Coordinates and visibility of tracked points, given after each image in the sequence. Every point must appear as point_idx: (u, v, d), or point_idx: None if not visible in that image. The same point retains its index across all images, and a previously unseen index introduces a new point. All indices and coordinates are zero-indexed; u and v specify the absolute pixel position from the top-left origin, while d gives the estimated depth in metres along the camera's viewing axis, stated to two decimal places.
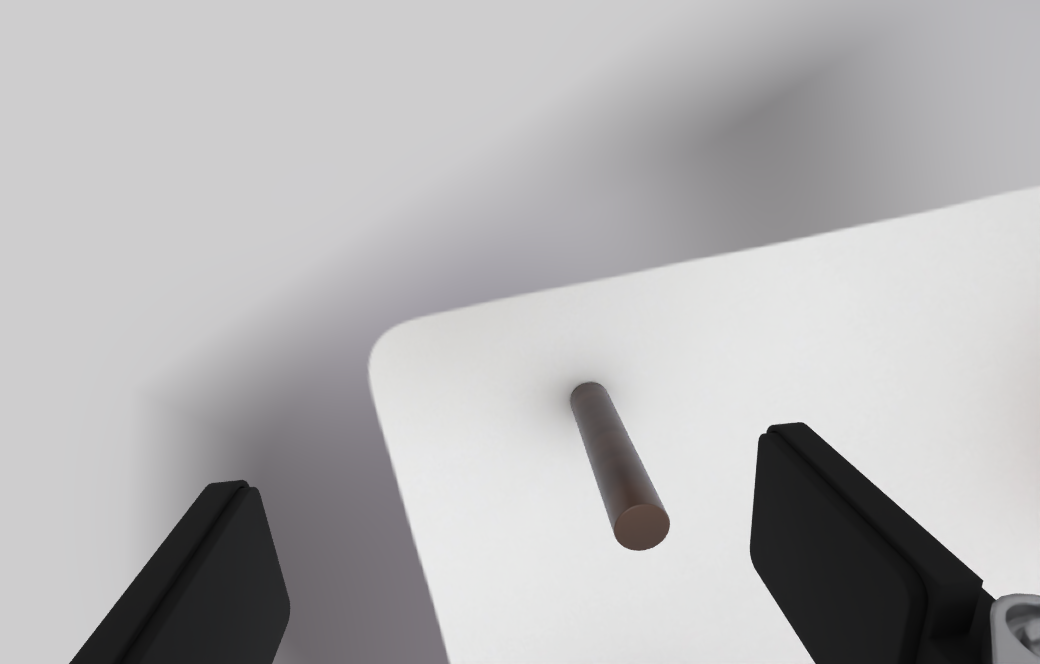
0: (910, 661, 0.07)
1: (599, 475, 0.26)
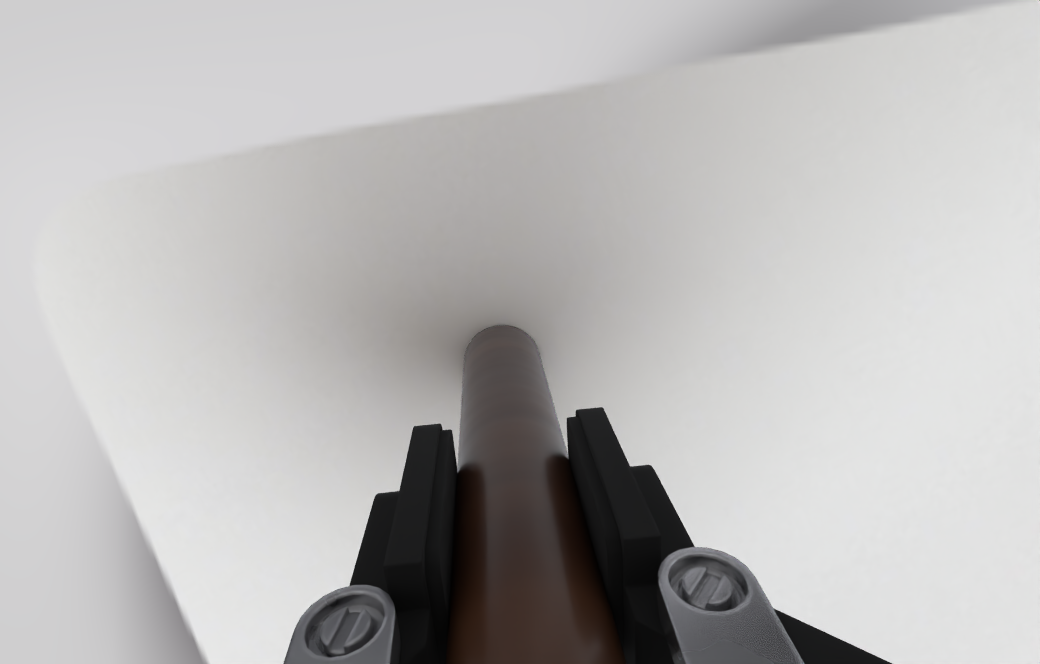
0: (618, 607, 0.08)
1: (454, 538, 0.09)
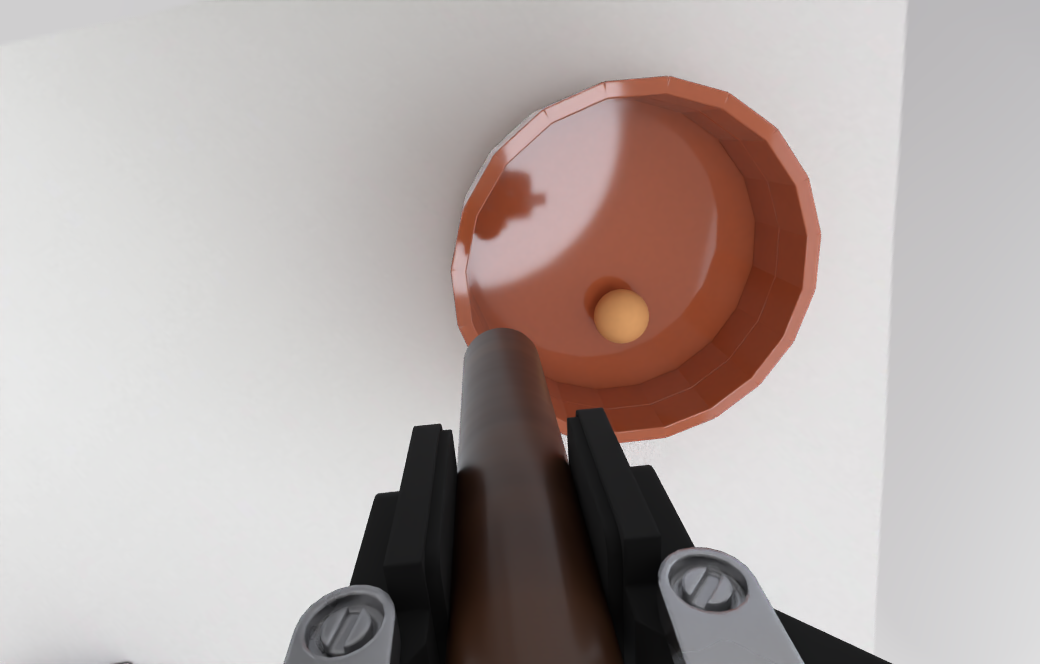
0: (618, 607, 0.08)
1: (454, 541, 0.09)
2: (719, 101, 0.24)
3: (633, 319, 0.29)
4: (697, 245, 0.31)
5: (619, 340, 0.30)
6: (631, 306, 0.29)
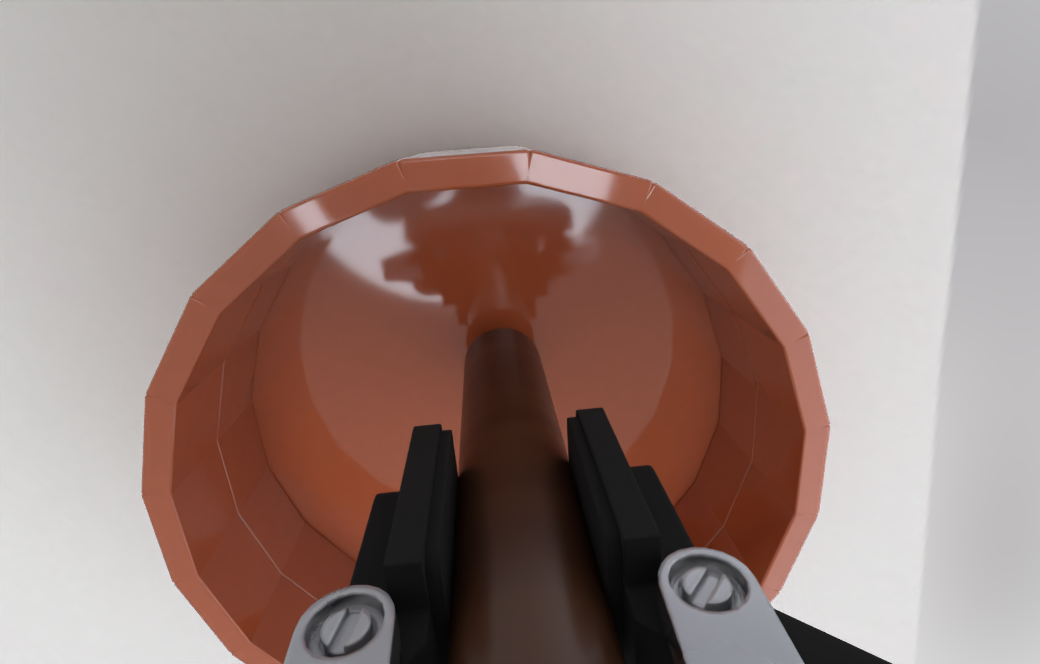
0: (618, 607, 0.08)
1: (456, 543, 0.09)
2: (634, 198, 0.12)
3: None
4: (629, 394, 0.19)
5: None
6: None
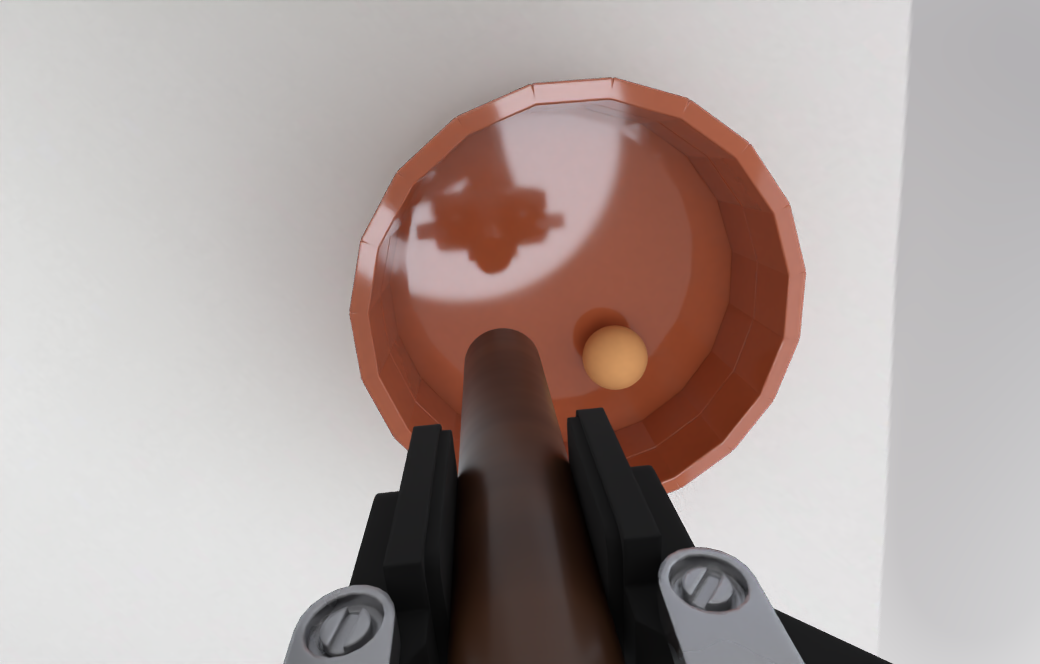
0: (618, 607, 0.08)
1: (456, 542, 0.09)
2: (677, 109, 0.19)
3: (638, 379, 0.25)
4: (663, 279, 0.26)
5: (607, 386, 0.25)
6: None
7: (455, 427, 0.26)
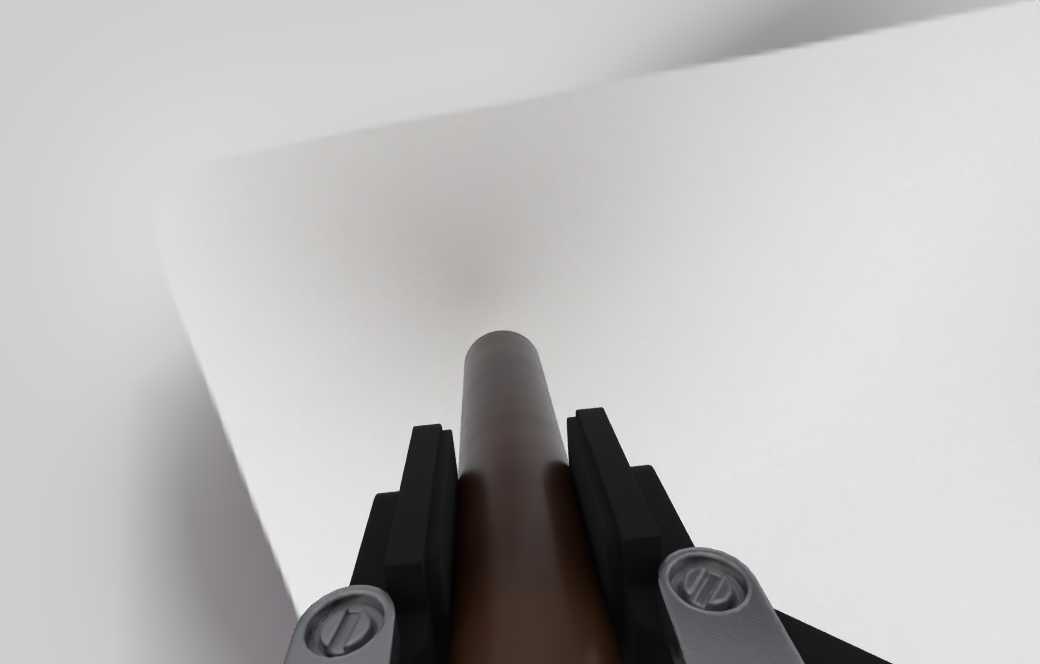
0: (618, 608, 0.08)
1: (456, 546, 0.09)
2: None
3: None
4: None
5: None
6: None
7: None
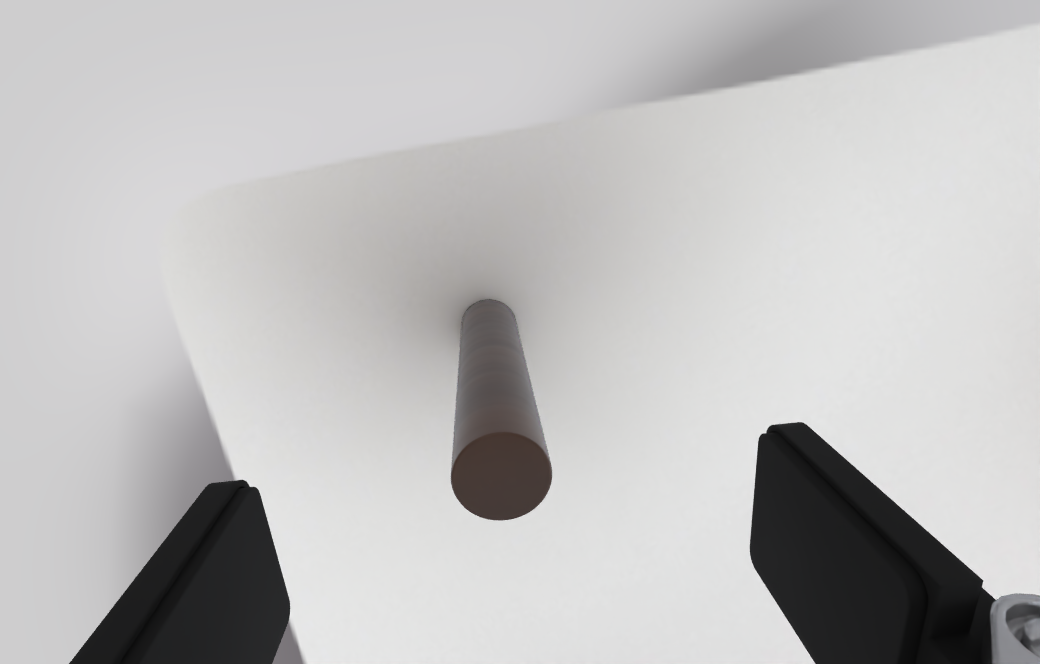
0: (910, 661, 0.07)
1: (457, 403, 0.16)
2: None
3: None
4: None
5: None
6: None
7: None
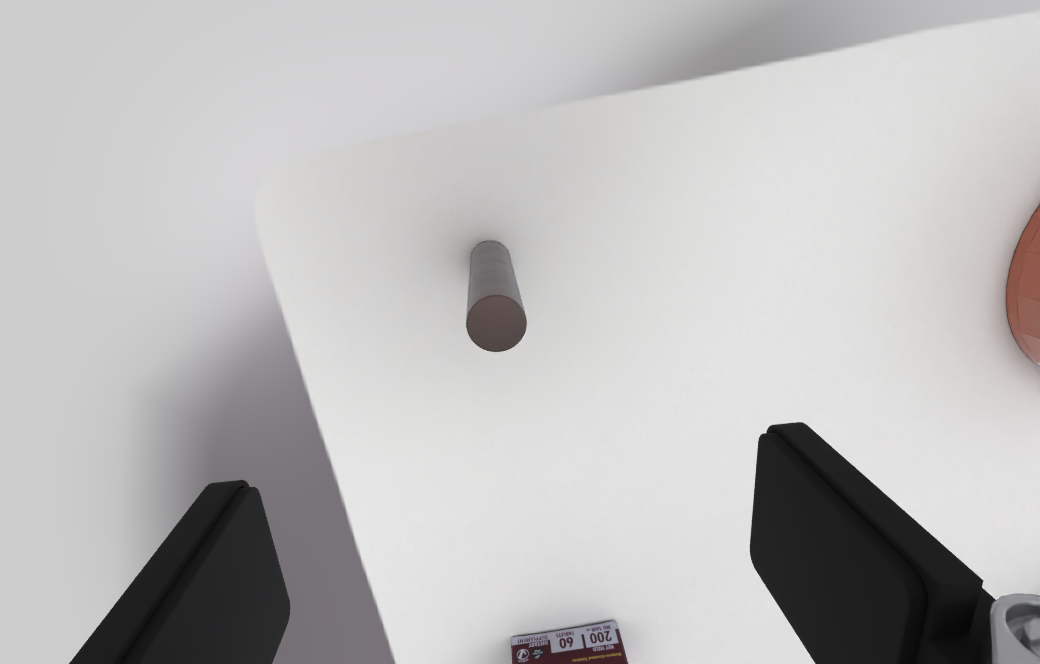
0: (910, 661, 0.07)
1: (468, 292, 0.25)
2: None
3: None
4: None
5: None
6: None
7: None
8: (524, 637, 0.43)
